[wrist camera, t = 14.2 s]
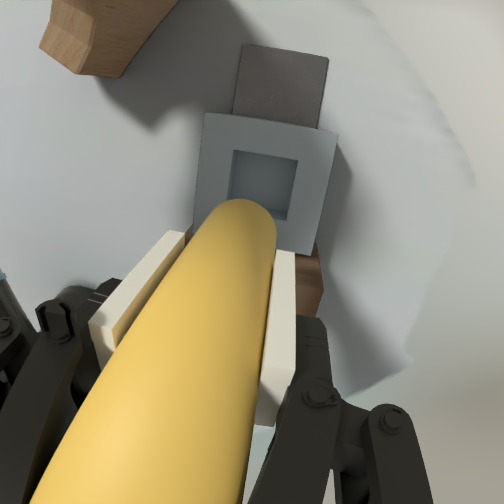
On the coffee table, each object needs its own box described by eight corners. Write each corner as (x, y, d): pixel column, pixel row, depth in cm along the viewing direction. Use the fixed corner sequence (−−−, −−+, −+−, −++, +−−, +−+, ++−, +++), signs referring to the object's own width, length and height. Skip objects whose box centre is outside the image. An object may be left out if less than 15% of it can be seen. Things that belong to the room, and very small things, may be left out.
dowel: (202, 258, 18) (65, 539, 4) (208, 193, 16) (-15, 490, 2) (270, 271, 18) (220, 588, 4) (282, 205, 16) (238, 597, 2)
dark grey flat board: (218, 223, 32) (217, 224, 32) (243, 44, 24) (243, 44, 24) (293, 237, 32) (293, 238, 32) (328, 58, 24) (328, 57, 24)
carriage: (203, 218, 32) (192, 233, 28) (216, 112, 27) (204, 112, 23) (308, 238, 31) (310, 255, 28) (331, 132, 27) (338, 135, 23)
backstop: (193, 246, 34) (164, 289, 26) (195, 221, 33) (164, 259, 25) (309, 268, 33) (314, 319, 25) (316, 243, 32) (323, 289, 24)
